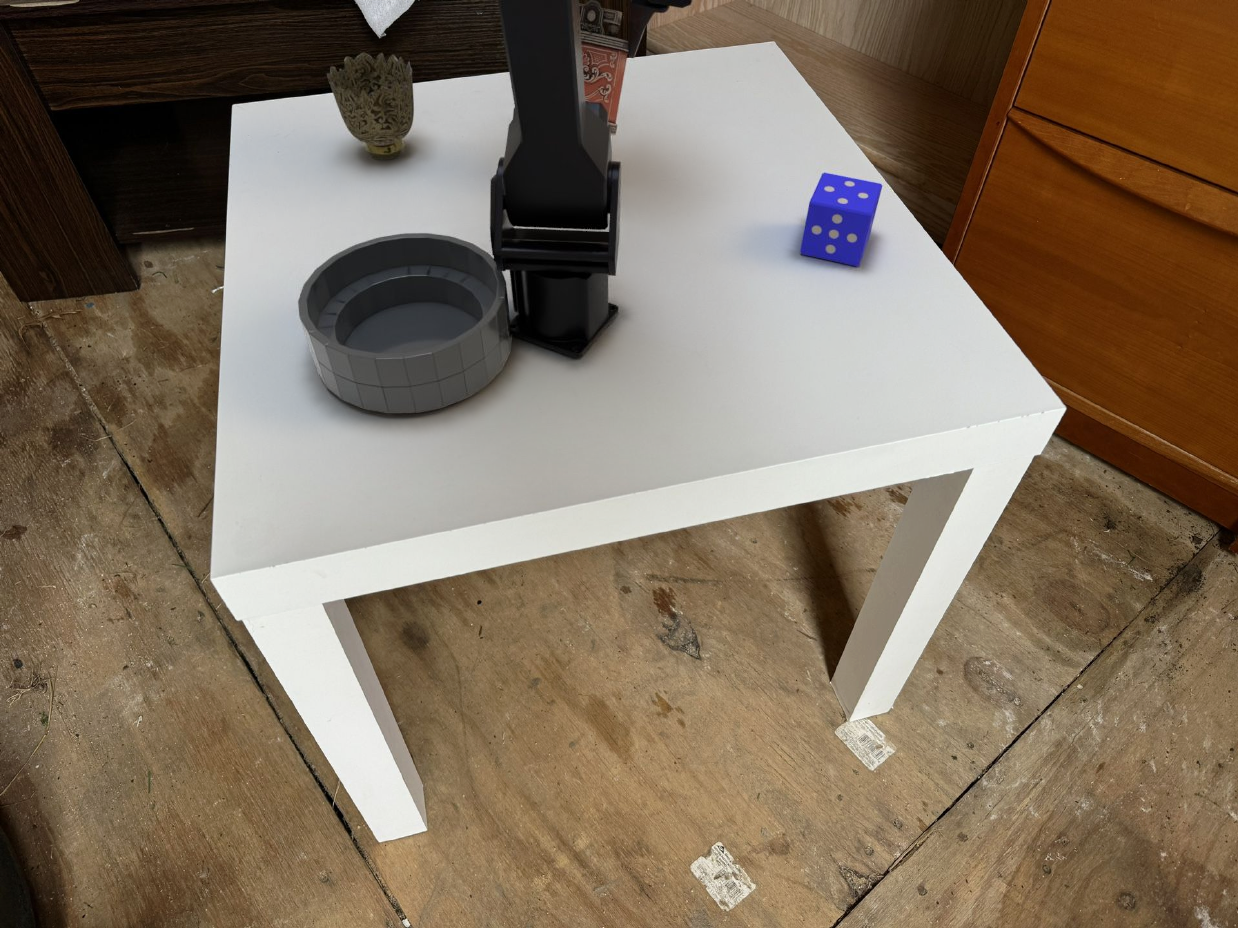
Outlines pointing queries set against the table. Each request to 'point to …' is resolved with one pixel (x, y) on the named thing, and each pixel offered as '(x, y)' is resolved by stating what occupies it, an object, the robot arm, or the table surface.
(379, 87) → the cup
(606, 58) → the lighter
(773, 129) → the table surface
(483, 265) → the bowl
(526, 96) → the robot arm
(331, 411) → the table surface
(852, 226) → the die
